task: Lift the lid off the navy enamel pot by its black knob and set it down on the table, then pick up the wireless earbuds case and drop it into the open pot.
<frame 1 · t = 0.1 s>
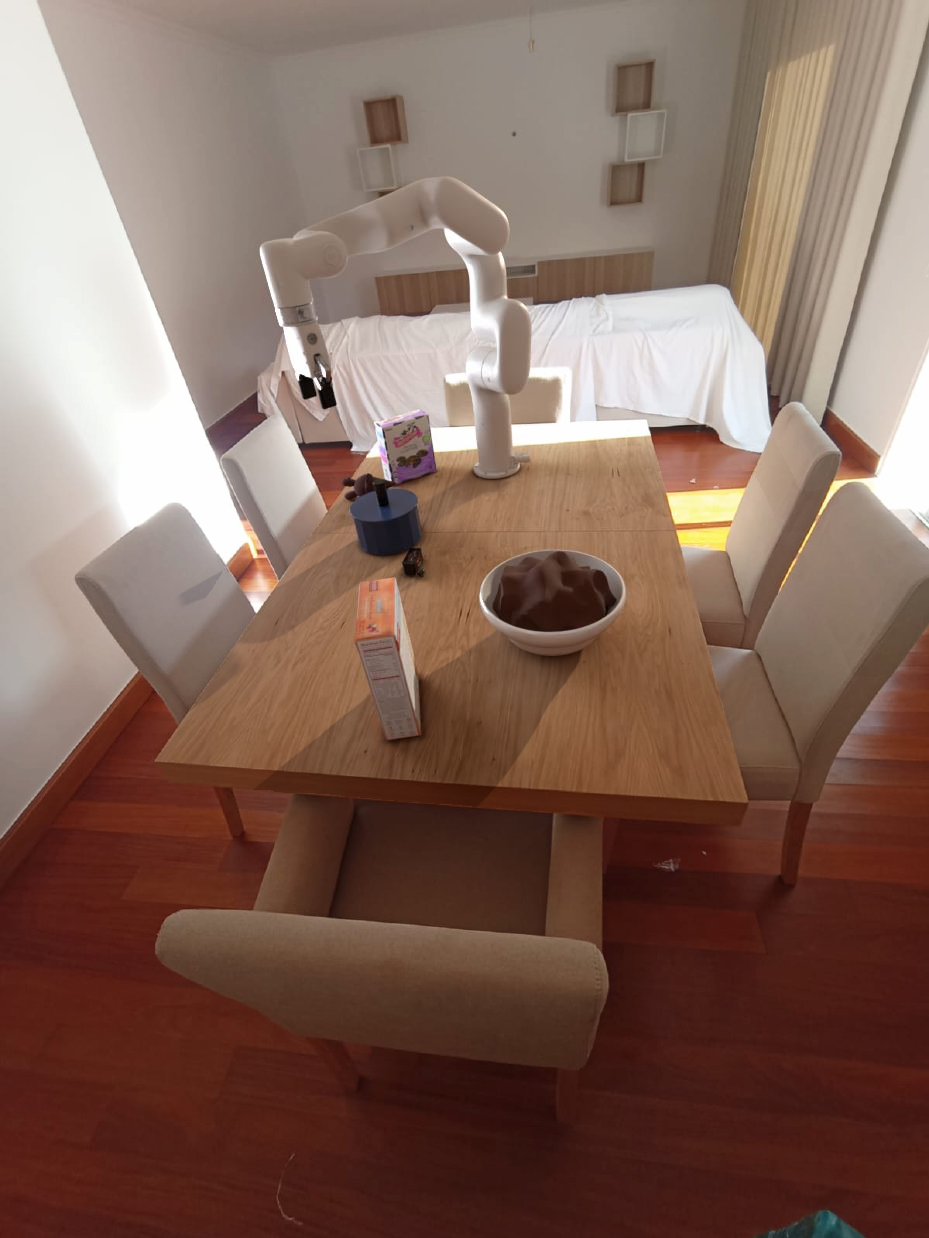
hand: (319, 402, 127), 31 cm above the table, tool pointing down, fingers open, 9 cm apart
icecream: (371, 498, 159), on the table
lid: (384, 506, 136), point 8 cm above the table, touching pot
candy box: (411, 476, 168), on the table
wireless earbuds: (416, 571, 129), on the table
cracker box: (402, 707, 98), on the table
chocolate pudding bowl: (552, 631, 109), on the table
pot: (391, 538, 141), on the table
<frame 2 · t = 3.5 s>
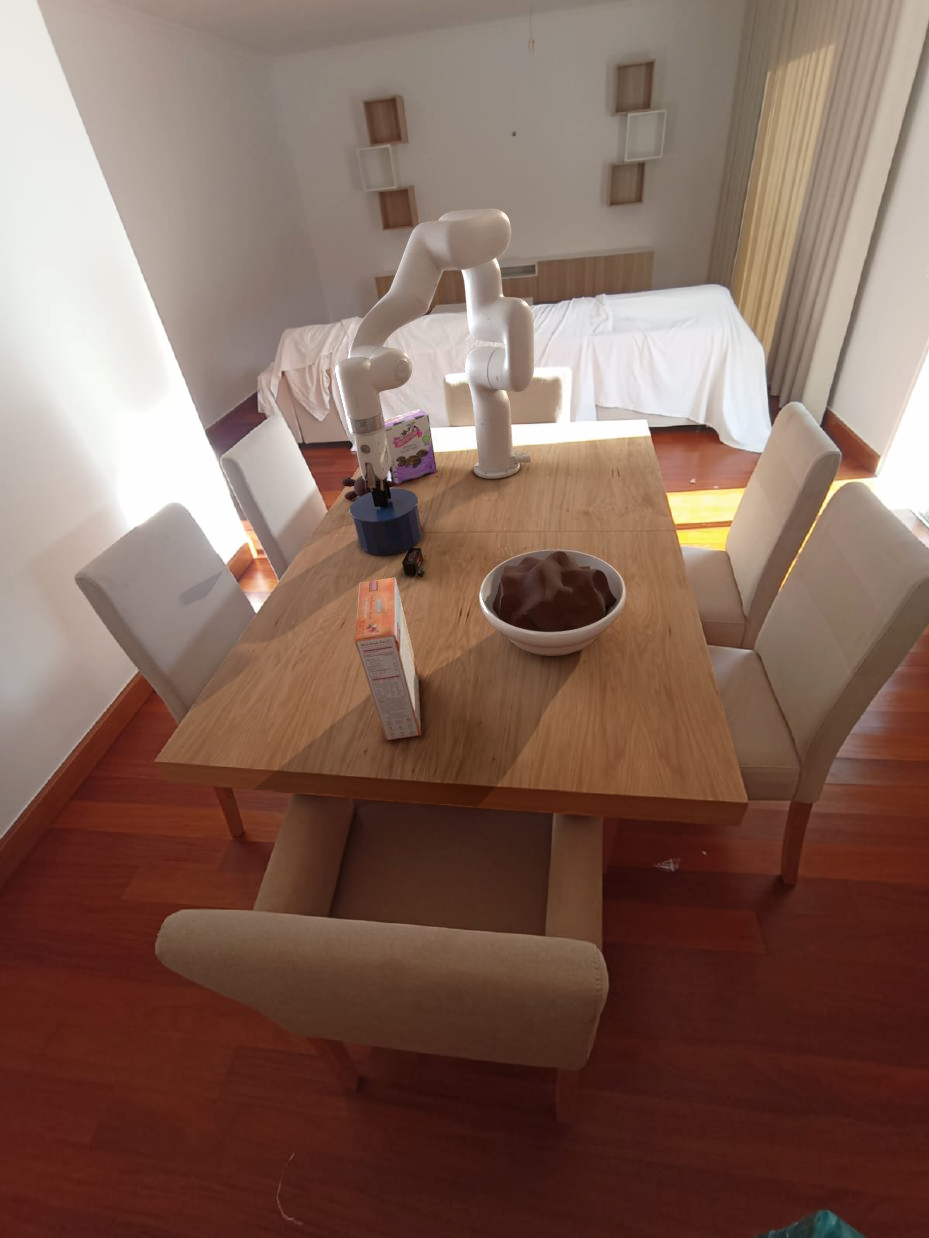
hand: (383, 501, 135), 10 cm above the table, tool pointing down, fingers closed on lid, 2 cm apart
lid: (384, 506, 136), point 8 cm above the table, touching gripper, pot
everything else where it was.
when the fingers open (2 cm above the table, at t = 11.3 s): lid stays where it is, point 1 cm above the table.
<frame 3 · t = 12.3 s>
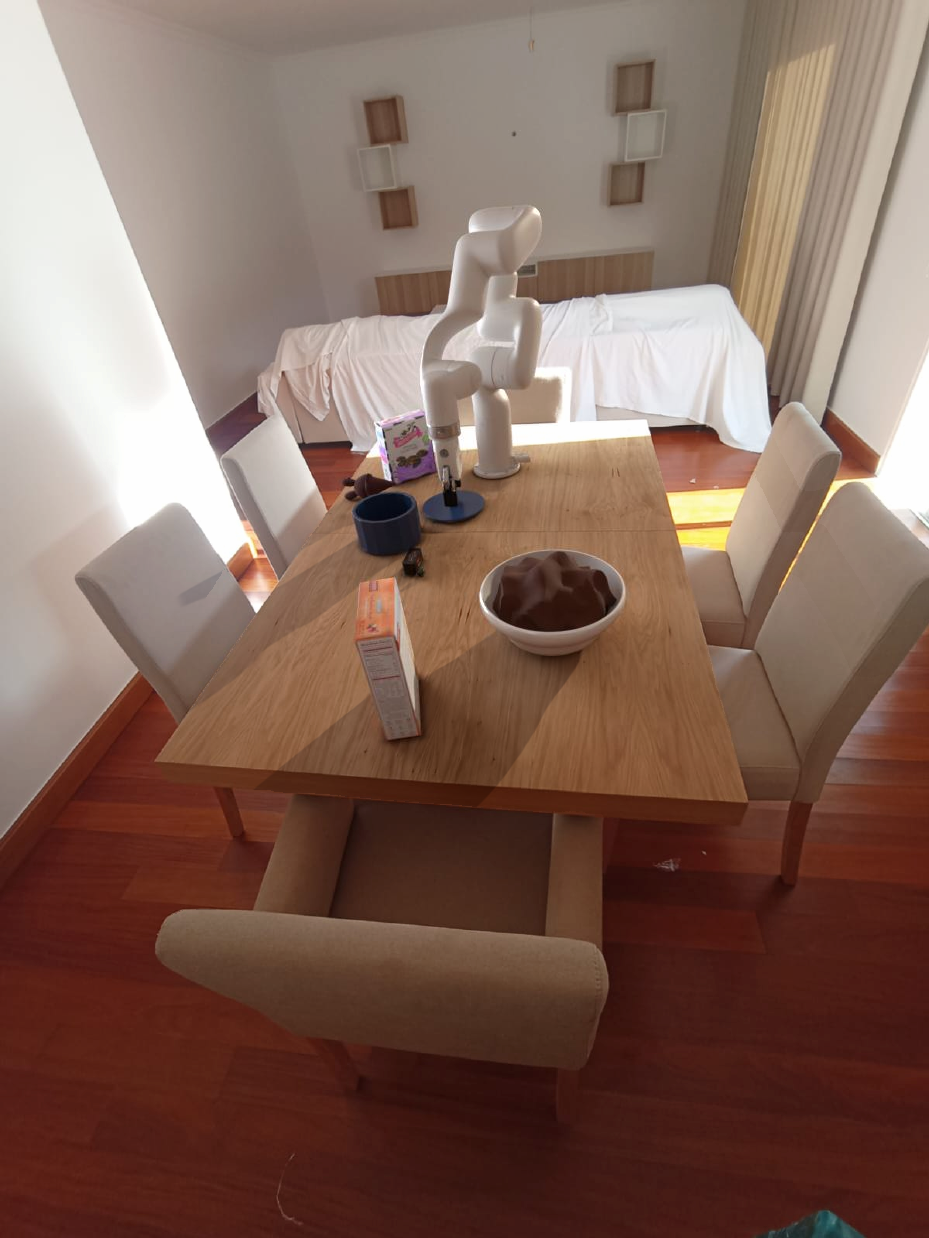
hand: (453, 496, 148), 3 cm above the table, tool pointing down, fingers open, 9 cm apart
lid: (453, 506, 149), point 1 cm above the table
everything else where it was.
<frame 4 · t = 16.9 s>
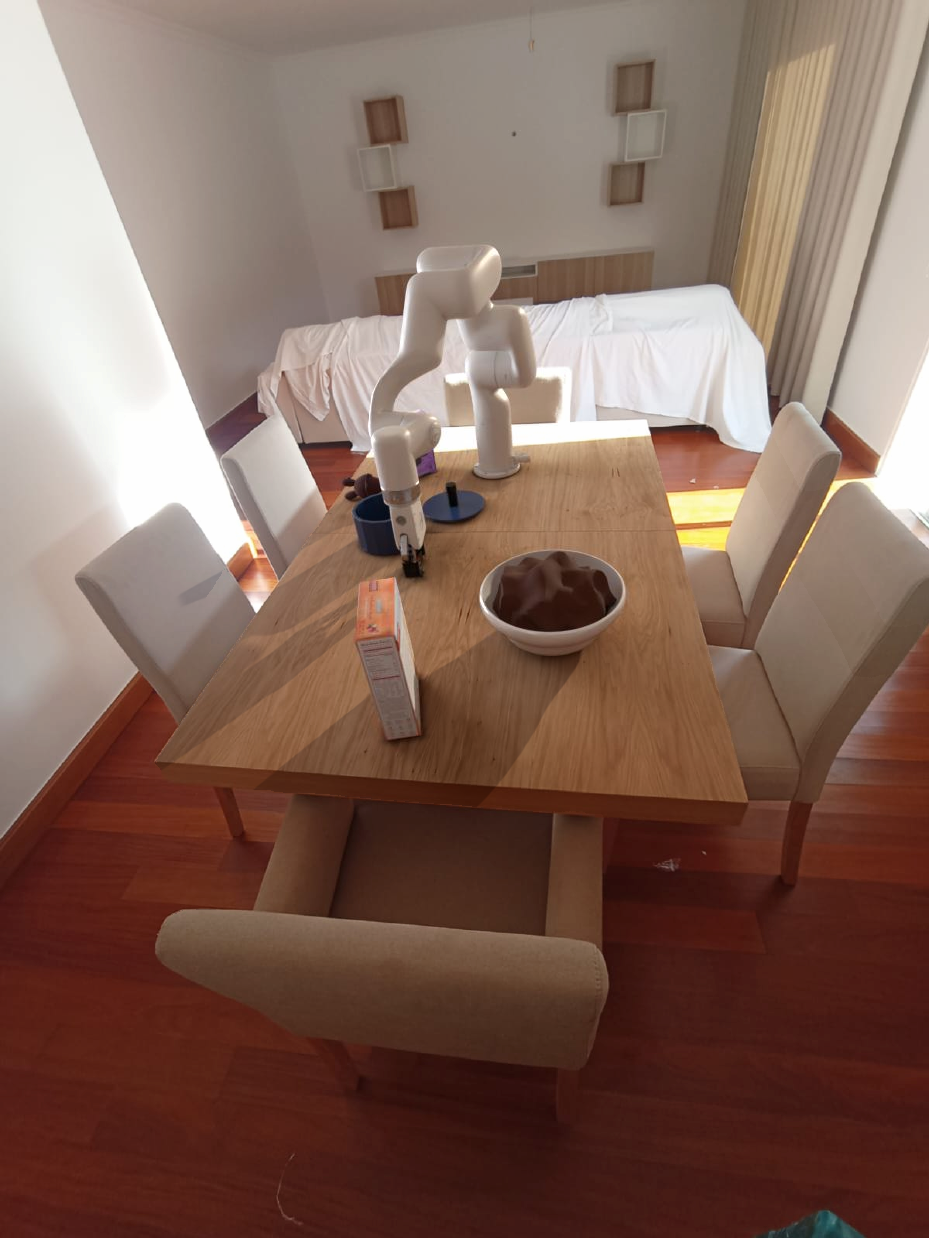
hand: (416, 565, 129), 1 cm above the table, tool pointing down, fingers closed on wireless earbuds, 7 cm apart
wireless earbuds: (416, 571, 129), on the table, touching gripper
everything else where it was.
when the fingers open (8 cm above the table, at t = 23.4 s): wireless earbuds drops 6 cm, resting on pot.
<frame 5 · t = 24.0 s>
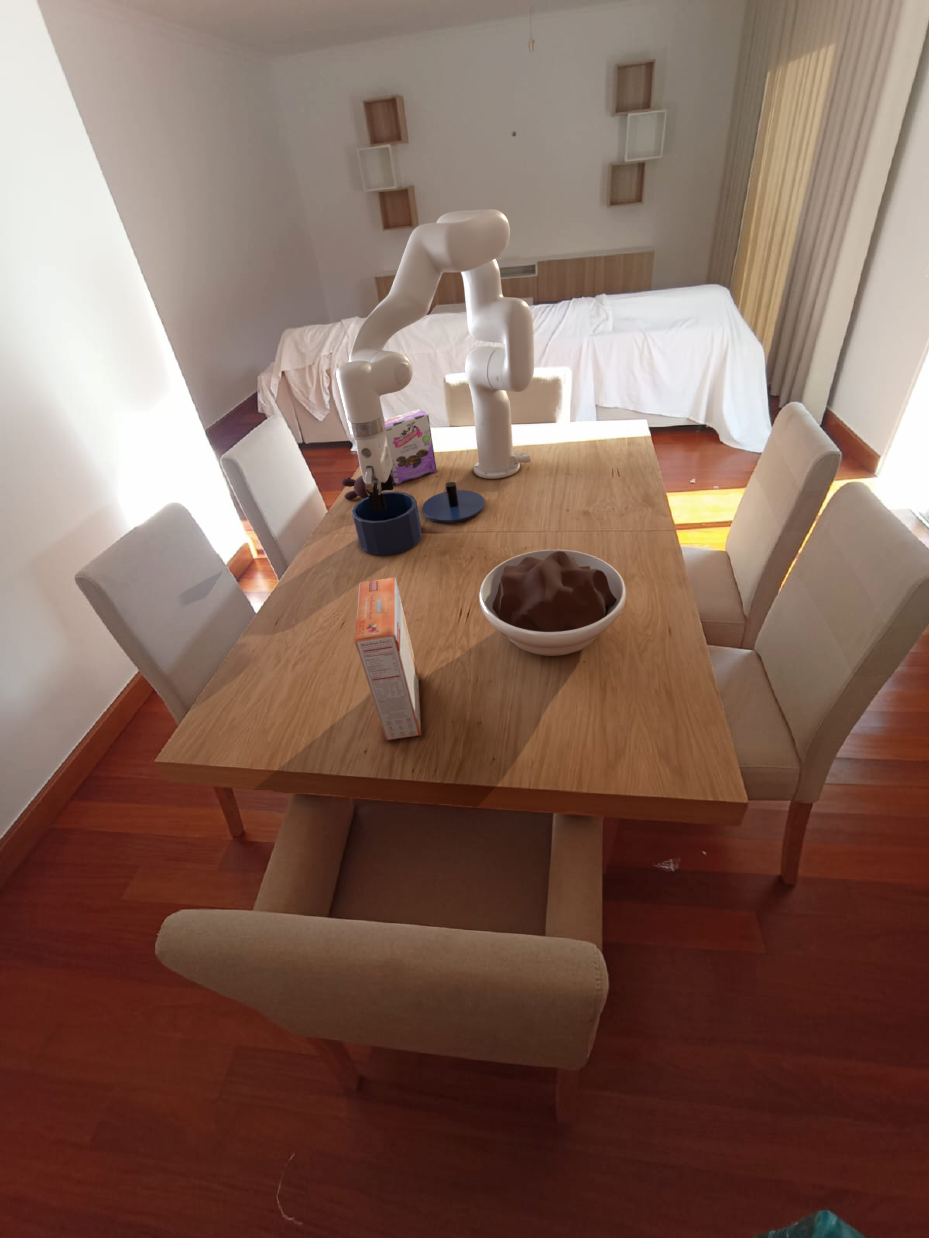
hand: (383, 499, 135), 10 cm above the table, tool pointing down, fingers open, 9 cm apart
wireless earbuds: (392, 537, 141), resting on pot
everything else where it was.
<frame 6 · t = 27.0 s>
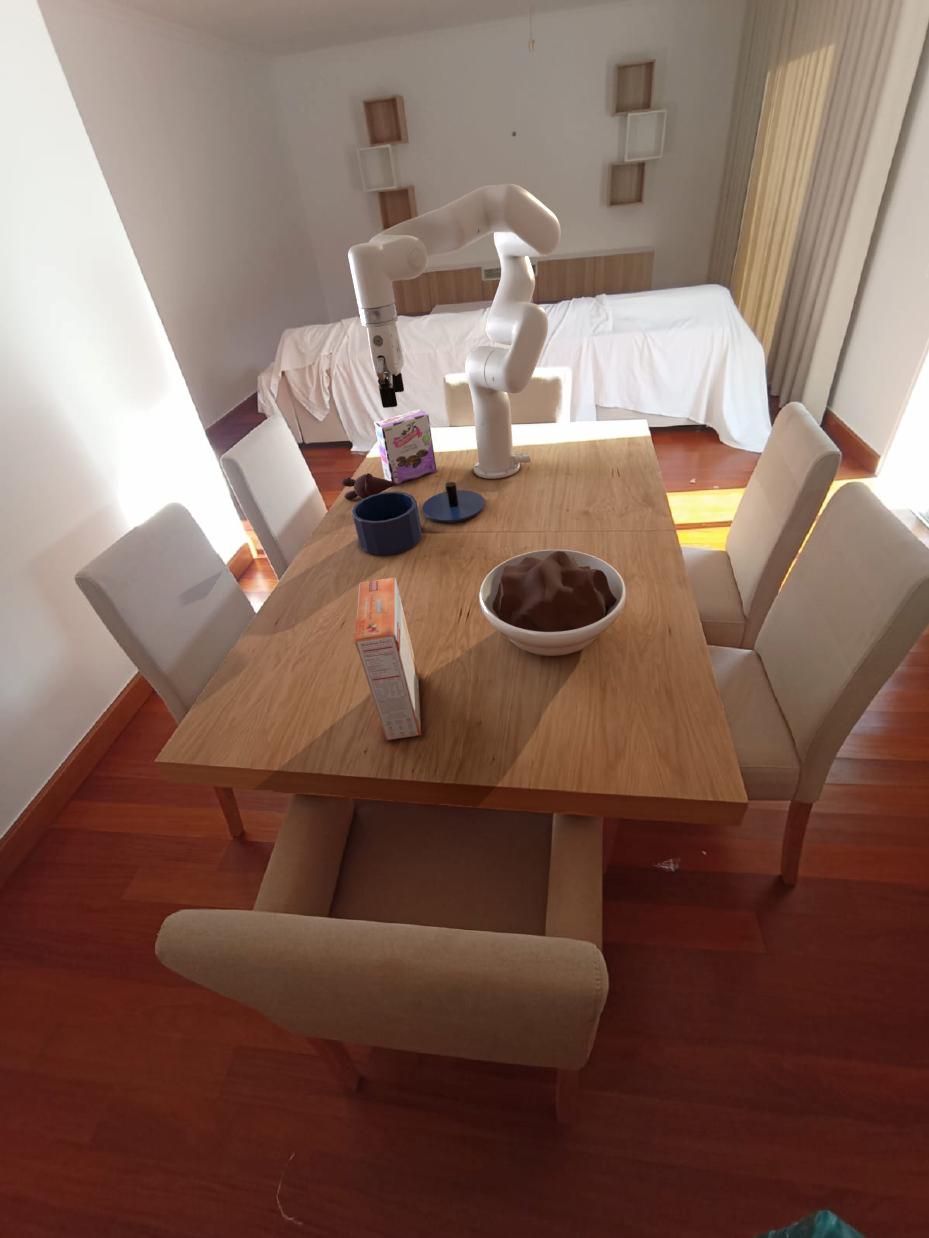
hand: (393, 399, 132), 28 cm above the table, tool pointing down, fingers open, 9 cm apart
nothing on the table moved.
at the end: lid inside the target area (0.2 cm from its centre), point 0.6 cm above the table; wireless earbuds inside the target area in the pot (0.3 cm from its centre), point 0.3 cm above the pot's base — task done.
